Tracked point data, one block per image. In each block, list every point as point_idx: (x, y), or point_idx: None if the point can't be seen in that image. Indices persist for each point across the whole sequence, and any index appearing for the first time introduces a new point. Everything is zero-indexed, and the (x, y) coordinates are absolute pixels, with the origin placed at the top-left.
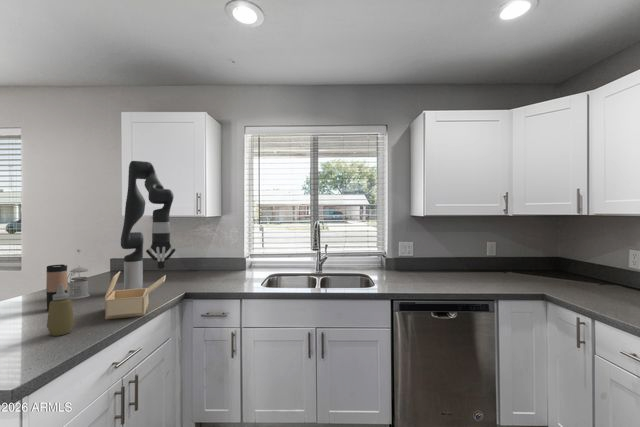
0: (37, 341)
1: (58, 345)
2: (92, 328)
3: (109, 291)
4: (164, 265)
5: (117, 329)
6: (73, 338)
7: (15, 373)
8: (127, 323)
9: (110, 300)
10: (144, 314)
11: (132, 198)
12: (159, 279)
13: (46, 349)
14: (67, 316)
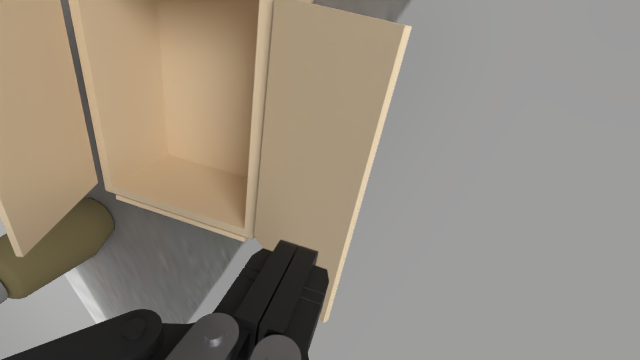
0: None
1: (128, 289)
2: (156, 224)
3: (72, 143)
4: (322, 304)
5: (219, 274)
6: (140, 268)
7: None
8: (238, 242)
9: (125, 195)
10: None
11: None
12: (342, 31)
13: (117, 295)
14: (72, 268)
